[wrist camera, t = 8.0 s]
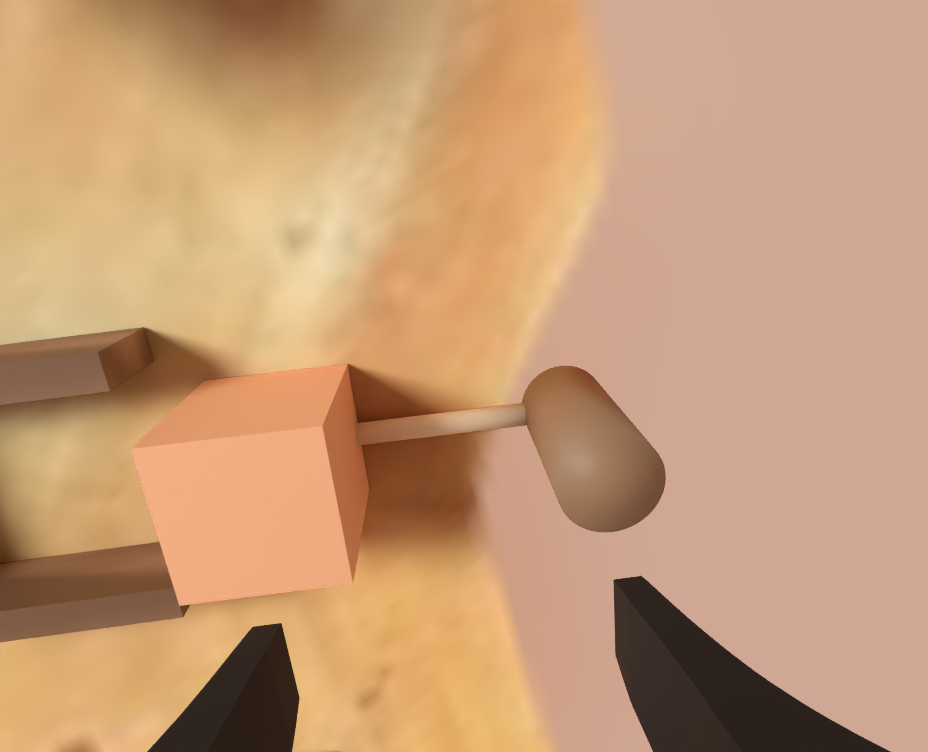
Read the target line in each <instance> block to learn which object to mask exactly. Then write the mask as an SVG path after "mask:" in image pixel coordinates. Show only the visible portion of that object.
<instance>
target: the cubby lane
mask: <svg viewBox="0 0 928 752" xmlns="http://www.w3.org/2000/svg"><path fill="white" fill-rule="evenodd" d="M152 362H153V357H152V354H151V351H150V347H149V344H148V340H147V337H146V334H145V330H144V327H143V328H135V329H127V330H119V331H111V332H103V333H95V334H87V335H78V336H70V337H62V338H54V339H46V340H38V341H30V342H22V343H14V344H6V345H0V405H5V404H13V403H21V402H29V401H37V400H45V399H52V398H60V397H68V396H76V395H84V394H92V393H100V392H108V391H111V390H113V389H114V388H116V387H117V386H118V385H120V384H121V383H123V382H124V381H126V380H127V379H129V378H130V377H132V376H133V375H135V374H136V373H137V372H139V371H140V370H142V369H143V368H145V367H146V366H148V365H149V364H151V363H152ZM189 606H190V605H182V606H179V603H178V600H177V597H176V593H175V590H174V587H173V584H172V581H171V577H170V574H169V571H168V568H167V565H166V561H165V558H164V555H163V552H162V549H161V545H160V542H158V543H151V544H143V545H136V546H128V547H121V548H113V549H106V550H98V551H91V552H83V553H76V554H68V555H61V556H53V557H46V558H39V559H31V560H24V561H16V562H9V563H1V564H0V642H6V641H13V640H20V639H28V638H35V637H42V636H49V635H57V634H64V633H71V632H79V631H86V630H93V629H100V628H108V627H115V626H122V625H130V624H137V623H144V622H151V621H159V620H166V619H173V618H181V617H184V615H185V613H186V611H187V609H188V608H189Z"/></svg>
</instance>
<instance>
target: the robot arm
mask: <svg viewBox="0 0 928 752" xmlns="http://www.w3.org/2000/svg"><path fill="white" fill-rule="evenodd" d="M614 612H615V652H616V658H617V661H618V664H619V667H620V670H621V674H622V677H623V680H624V683H625V686H626V689H627V692H628V695H629V698H630V700H631V703H632V706H633V708H634V710H635V712H636V715H637V717H638V719H639V721H640V724H641V726H642V728H643V730H644V732H645V734H646V737H647V739H648V741H649V743H650V746H651V748H652V750H653V752H890V751H888V750H886V749H884V748H882V747H880V746H878V745H876V744H874V743H872V742H870V741H868V740H866V739H865V738H863V737H861V736H859V735H857V734H855V733H853V732H852V731H850V730H848V729H846V728H845V727H843V726H841V725H839V724H837V723H836V722H834V721H832V720H830V719H828V718H826V717H825V716H823V715H821V714H820V713H818V712H816V711H815V710H813V709H811V708H810V707H808V706H806V705H805V704H803V703H802V702H800V701H798V700H797V699H795V698H794V697H792V696H791V695H789V694H788V693H786V692H785V691H783V690H782V689H780V688H778V687H777V686H775V685H774V684H772V683H771V682H769V681H768V680H766V679H765V678H764V677H762V676H761V675H759V674H758V673H756V672H755V671H754V670H752V669H751V668H750V667H748V666H747V665H746V664H744V663H743V662H742V661H740V660H739V659H738V658H736V657H735V656H734V655H732V654H731V653H730V652H729V651H727V650H726V649H725V648H724V647H722V646H721V645H720V644H718V643H717V642H716V641H715V640H714V639H713V638H711V637H710V636H709V635H708V634H707V633H705V632H704V631H703V630H702V629H700V628H699V627H698V626H697V625H696V624H695V623H693V622H692V621H691V620H690V619H689V618H687V617H686V616H685V615H684V614H683V613H682V612H681V611H680V610H679V609H677V608H676V607H675V606H674V605H673V604H672V603H671V602H670V601H669V600H668V599H666V598H665V597H664V596H663V595H662V594H661V593H660V592H658V590H657V589H655V588H654V587H653V586H652V585H651V584H650V583H649V582H648V581H647V580H645V579H644V578H643V577H642V576H638V577H630V578H623V579H616V580H614ZM298 705H299V694H298V690H297V686H296V682H295V678H294V673H293V669H292V665H291V661H290V657H289V653H288V649H287V645H286V640H285V636H284V632H283V628H282V624H281V623H279V624H271V625H264V626H256V627H252V628H251V630H250V631H249V632H248V633H247V634H246V636H245V637H244V638H243V639H242V640H241V642H240V643H239V644H238V645H237V647H236V648H235V649H234V650H233V652H232V653H231V654H230V655H229V657H228V658H227V659H226V660H225V662H224V663H223V664H222V665H221V667H220V668H219V669H218V670H217V672H216V673H215V674H214V675H213V677H212V678H211V679H210V680H209V682H208V683H207V684H206V685H205V686H204V688H203V689H202V690H201V691H200V692H199V694H198V695H197V696H196V697H195V698H194V700H193V701H192V702H191V703H190V704H189V706H188V707H187V708H186V709H185V710H184V712H183V713H182V714H181V715H180V716H179V717H178V718H177V720H176V721H175V722H174V723H173V724H172V725H171V726H170V727H169V728H168V730H167V731H166V732H165V733H164V734H163V735H162V736H161V737H160V738H159V740H158V741H157V742H156V743H155V744H154V745H153V746H152V747H151V748H150V749H149V750H148V752H292V748H293V741H294V735H295V728H296V721H297V713H298Z"/></svg>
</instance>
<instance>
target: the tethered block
mask: <svg viewBox="0 0 928 752" xmlns="http://www.w3.org/2000/svg"><path fill="white" fill-rule="evenodd" d="M523 425H527V427H528V429H529V432H530V434H531V437H532V439H533V441H534V444H535V446H536V448H537V451H538V453H539V456H540V458H541V460H542V463H543V465H544V468H545V470H546V473H547V475H548V477H549V480H550V482H551V485H552V487H553V490H554V492H555V494H556V497H557V499H558V502H559V504H560V506H561V508H562V510H563V512H564V513H565V514H566V515H567V517H568V518H569V519H570V520H571V521H573V522H574V523H575V524H577V525H578V526H580V527H582V528H585V529H588V530H591V531H596V532H614V531H619V530H623V529H626V528H629V527H631V526H633V525H635V524H637V523H638V522H640V521H641V520H643V519H644V518H645V517H646V516H648V515H649V514H650V513H651V512H652V510H653V509H654V508H655V507H656V505H657V504H658V502H659V500H660V498H661V496H662V493H663V491H664V486H665V469H664V465H663V462H662V460H661V458H660V456H659V454H658V453H657V452H656V450H655V449H654V448H653V447H652V446H651V445H650V443H649V442H648V441H647V440H646V439H645V437H644V436H643V435H642V434H641V433H640V432H639V430H638V429H637V428H636V427H635V426H634V425H633V423H632V422H631V421H630V420H629V419H628V417H627V416H626V415H625V414H624V413H623V412H622V410H621V409H620V408H619V407H618V406H617V405H616V403H615V402H614V401H613V400H612V399H611V398H610V396H609V395H608V394H607V393H606V391H605V390H604V389H603V388H602V387H601V386H600V384H599V383H598V382H597V381H596V380H595V379H594V377H593V376H591V375H590V374H589V373H588V372H586V371H584V370H582V369H580V368H577V367H573V366H559V367H554V368H550V369H548V370H546V371H544V372H543V373H541V374H539V375H538V376H537V377H536V378H535V379H534V380H533V381H532V382H531V383H530V384H529V386H528V388H527V389H526V391H525V394H524V397H523V401H522V403H520V404H511V405H503V406H494V407H486V408H478V409H469V410H461V411H452V412H444V413H436V414H427V415H419V416H410V417H402V418H394V419H385V420H377V421H369V422H360V423H358V421H357V415H356V410H355V404H354V398H353V392H352V387H351V381H350V375H349V369H348V364H343V365H334V366H325V367H317V368H308V369H300V370H291V371H282V372H274V373H265V374H257V375H248V376H239V377H231V378H222V379H214V380H205V381H203V382H202V383H201V384H200V385H199V386H198V387H197V388H196V389H195V390H193V391H192V392H191V393H190V394H189V395H188V396H187V397H186V398H185V399H184V400H183V401H182V402H181V403H179V404H178V405H177V406H176V407H175V408H174V409H173V410H172V411H171V412H170V413H169V414H168V415H166V416H165V417H164V418H163V419H162V420H161V421H160V422H159V423H158V424H157V425H156V426H155V427H154V428H152V429H151V430H150V431H149V432H148V433H147V434H146V435H145V436H144V437H143V438H142V439H141V440H140V441H138V442H137V443H136V444H135V445H134V446H133V447H132V448H131V452H132V456H133V459H134V462H135V465H136V468H137V472H138V475H139V478H140V481H141V484H142V488H143V491H144V494H145V497H146V500H147V504H148V507H149V510H150V513H151V516H152V520H153V523H154V526H155V529H156V533H157V536H158V539H159V542H160V545H161V549H162V552H163V555H164V558H165V561H166V565H167V568H168V571H169V574H170V577H171V581H172V584H173V587H174V590H175V593H176V597H177V600H178V603H179V606H182V605H190V604H198V603H206V602H213V601H221V600H229V599H237V598H245V597H253V596H261V595H269V594H277V593H284V592H292V591H300V590H308V589H316V588H324V587H332V586H340V585H347V584H353V581H354V575H355V569H356V564H357V558H358V552H359V546H360V541H361V535H362V529H363V523H364V517H365V512H366V506H367V500H368V494H369V485H368V479H367V473H366V467H365V462H364V456H363V450H362V445H366V444H374V443H382V442H390V441H399V440H407V439H415V438H424V437H432V436H440V435H449V434H457V433H465V432H474V431H482V430H490V429H499V428H507V427H515V426H523Z"/></svg>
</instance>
